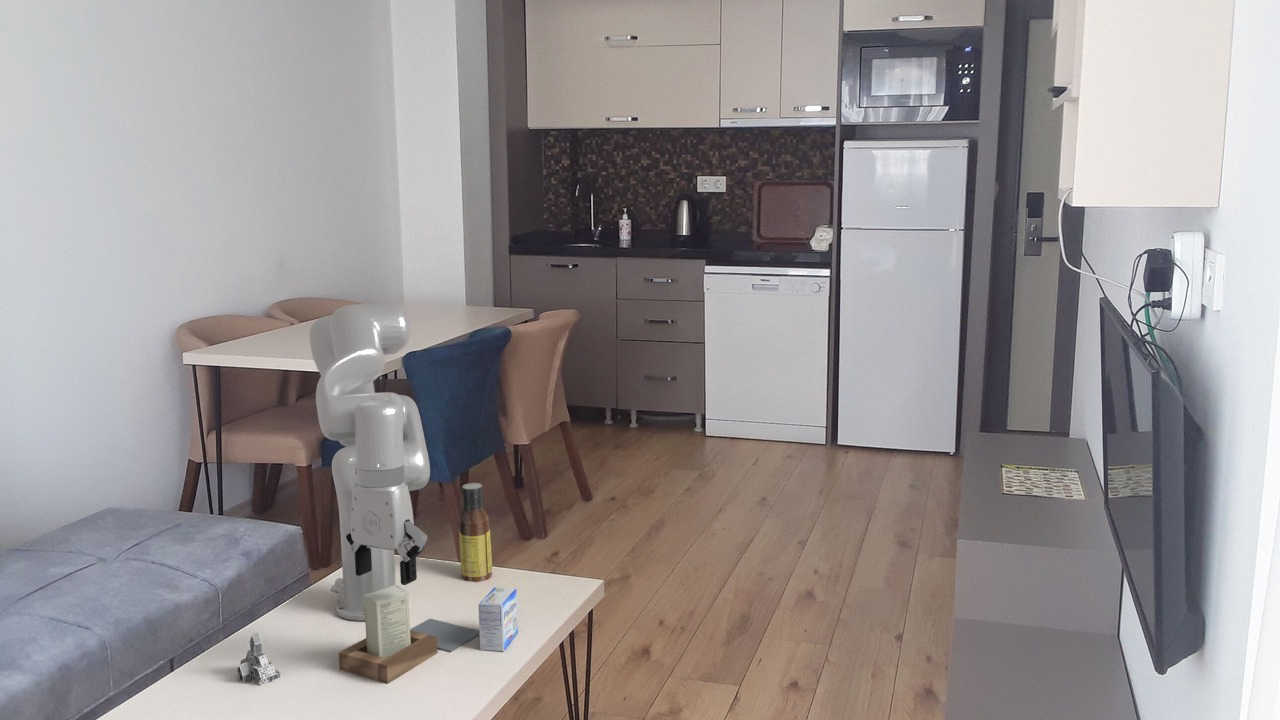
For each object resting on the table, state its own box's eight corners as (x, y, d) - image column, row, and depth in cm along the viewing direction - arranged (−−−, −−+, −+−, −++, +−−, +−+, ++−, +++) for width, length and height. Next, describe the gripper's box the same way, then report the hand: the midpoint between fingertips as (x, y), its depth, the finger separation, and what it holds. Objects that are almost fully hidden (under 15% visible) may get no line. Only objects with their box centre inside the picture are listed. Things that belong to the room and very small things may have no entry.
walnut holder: (339, 669, 173) (338, 652, 173) (390, 641, 184) (390, 625, 184) (387, 683, 168) (386, 665, 168) (437, 653, 179) (436, 636, 179)
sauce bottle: (478, 571, 218) (475, 478, 214) (499, 578, 214) (496, 483, 210) (453, 580, 213) (450, 485, 209) (474, 587, 209) (471, 491, 205)
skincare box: (399, 651, 180) (396, 584, 178) (412, 660, 177) (409, 591, 175) (365, 663, 176) (362, 594, 174) (379, 671, 173) (375, 601, 171)
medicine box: (504, 652, 180) (502, 604, 178) (479, 650, 180) (477, 602, 179) (518, 633, 187) (517, 587, 186) (494, 631, 188) (493, 585, 187)
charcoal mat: (396, 638, 185) (396, 636, 185) (430, 620, 193) (429, 618, 193) (450, 652, 180) (450, 650, 179) (482, 633, 187) (482, 631, 187)
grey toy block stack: (204, 682, 170) (200, 637, 169) (254, 663, 177) (251, 620, 175) (231, 699, 164) (227, 653, 163) (282, 679, 171) (279, 635, 169)
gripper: (325, 476, 172) (330, 576, 174) (406, 488, 164) (411, 593, 166) (357, 466, 178) (362, 563, 181) (437, 477, 170) (442, 578, 172)
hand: (386, 577), depth 173 cm, fingers open, 9 cm apart
